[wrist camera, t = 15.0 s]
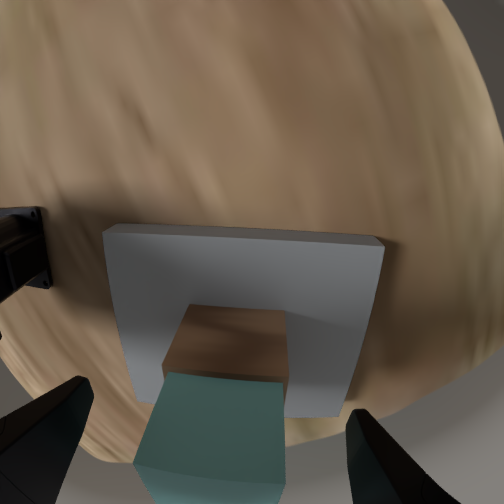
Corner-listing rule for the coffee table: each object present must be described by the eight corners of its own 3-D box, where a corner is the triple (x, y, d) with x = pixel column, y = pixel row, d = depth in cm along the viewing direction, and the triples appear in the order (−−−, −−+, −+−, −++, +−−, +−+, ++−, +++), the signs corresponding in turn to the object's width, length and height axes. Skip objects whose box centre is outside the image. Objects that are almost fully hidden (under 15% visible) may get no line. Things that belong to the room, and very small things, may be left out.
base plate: (144, 384, 23) (137, 400, 21) (117, 223, 18) (102, 232, 16) (334, 399, 22) (338, 416, 20) (373, 235, 17) (384, 246, 15)
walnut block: (195, 372, 19) (176, 434, 14) (189, 303, 17) (161, 364, 12) (276, 379, 19) (276, 444, 14) (284, 310, 17) (289, 376, 12)
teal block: (179, 434, 14) (159, 509, 9) (168, 371, 12) (132, 463, 7) (271, 443, 14) (270, 522, 9) (282, 382, 12) (285, 483, 7)
